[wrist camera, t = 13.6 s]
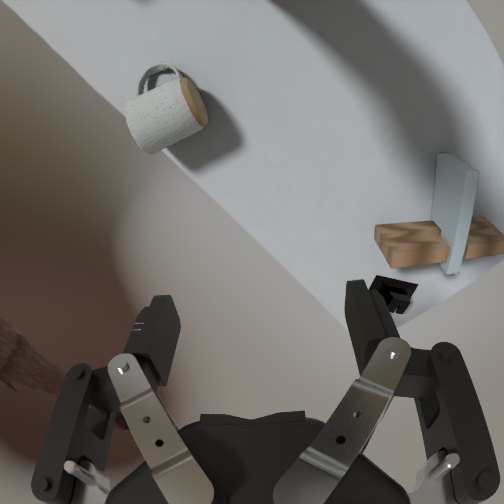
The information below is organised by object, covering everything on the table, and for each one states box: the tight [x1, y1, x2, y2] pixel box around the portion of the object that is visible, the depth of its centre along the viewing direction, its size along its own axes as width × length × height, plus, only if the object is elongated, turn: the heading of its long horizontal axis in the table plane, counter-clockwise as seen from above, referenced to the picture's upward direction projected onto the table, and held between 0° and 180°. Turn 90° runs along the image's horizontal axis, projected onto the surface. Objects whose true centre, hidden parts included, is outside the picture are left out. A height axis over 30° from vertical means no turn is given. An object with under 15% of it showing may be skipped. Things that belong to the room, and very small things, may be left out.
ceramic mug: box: [125, 63, 208, 154], centre depth 33 cm, size 11×8×8 cm
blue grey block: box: [431, 153, 479, 275], centre depth 39 cm, size 16×2×8 cm, turn 7°
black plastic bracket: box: [369, 275, 418, 314], centre depth 51 cm, size 12×7×5 cm, turn 77°
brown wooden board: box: [374, 217, 504, 268], centre depth 41 cm, size 22×2×8 cm, turn 97°
